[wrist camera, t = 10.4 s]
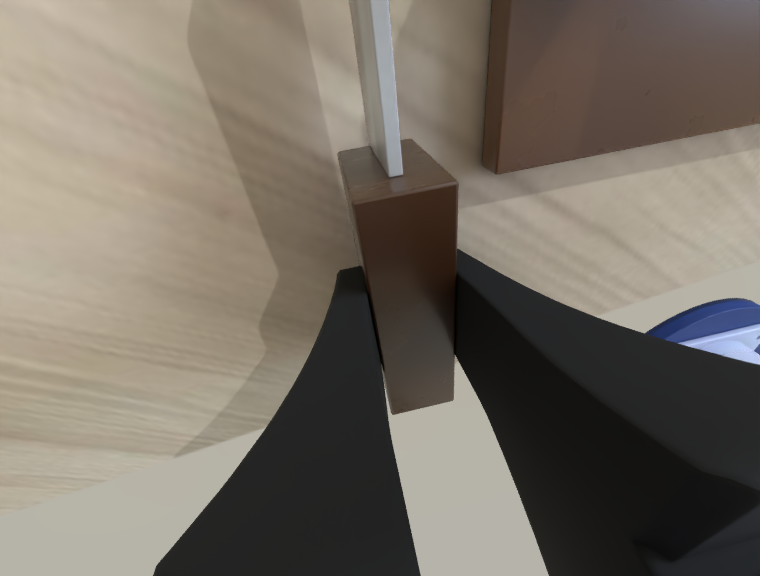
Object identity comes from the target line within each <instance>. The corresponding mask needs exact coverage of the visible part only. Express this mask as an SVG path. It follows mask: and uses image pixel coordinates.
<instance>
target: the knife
mask: <svg viewBox="0 0 760 576" xmlns="http://www.w3.org/2000/svg"><path fill="white" fill-rule="evenodd" d="M349 5H350V12H351V19H352V26H353V33H354V40H355V48H356V55H357V62H358V69H359V76H360V83H361V90H362V98H363V105H364V112H365V119H366V126H367V133H368V141H369V145H370V146H367V147H362V148H356V149H351V150H345V151H340V152H338V160H339V165H340V170H341V175H342V180H343V185H344V190H345V195H346V200H347V205H348V210H349V215H350V220H351V225H352V230H353V235H354V240H355V245H356V250H357V255H358V260H359V265H360V266H361V268H362V272H363V276H364V279H365V283H366V287H367V293H368V298H369V303H370V308H371V313H372V318H373V323H374V328H375V334H376V339H377V344H378V349H379V354H380V359H381V365H382V373H383V379H384V384H385V388H386V392H387V397H388V401H389V405H390V410H391V413H392V415H395V414H399V413H403V412H407V411H412V410H415V409H420V408H424V407H428V406H432V405H437V404H441V403H445V402H449V401H453V399H454V360H455V314H456V268H457V223H458V182H457V180H456V179H455V178H453V177H452V176H451V175H450V174H449V173H448V172H447V171H446V170H445V169H444V168H443V167H442V166H440V165H439V164H438V163H437V162H436V161H435V160H434V159H433V158H432V157H431V156H430V155H429V154H428V153H426V152H425V151H424V150H423V149H422V148H421V147H420V146H419V145H418V144H417V143H416V142H415V141H414V140H412V139H405V140H400V131H399V119H398V107H397V95H396V83H395V71H394V59H393V47H392V34H391V22H390V10H389V0H349Z"/></svg>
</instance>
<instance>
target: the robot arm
mask: <svg viewBox="0 0 760 576" xmlns="http://www.w3.org/2000/svg"><path fill="white" fill-rule="evenodd" d="M759 344H760V324H755V325H751V326H747V327H743V328H738V329H734V330H730V331H726V332H722V333H717V334H713V335H709V336H705V337H701V338H696V339H692V340H688V341H684V342H680V343H674V342H670V341H667V340H663V339H660V338H657V337H654V336H650V335H647V334H644V333H641V332H638V331H635V330H632V329H629V328H625V327H622V326H619V325H617V324H614V323H611V322H608V321H605V320H602V319H600V318H597V317H594V316H592V315H589V314H587V313H584V312H582V311H579V310H577V309H574V308H572V307H569V306H567V305H564V304H562V303H560V302H557V301H555V300H553V299H551V298H549V297H546V296H544V295H542V294H540V293H538V292H536V291H534V290H532V289H530V288H528V287H526V286H524V285H522V284H520V283H518V282H516V281H514V280H512V279H510V278H508V277H506V276H505V275H503V274H501V273H499V272H497V271H496V270H494V269H492V268H490V267H489V266H487V265H485V264H483V263H482V262H480V261H478V260H476V259H475V258H473V257H471V256H470V255H468V254H466V253H464V252H463V251H461V250H459V249H457V268H456V314H455V355H456V357H457V359H458V361H459V363H460V364H461V366H462V368H463V370H464V372H465V374H466V376H467V378H468V379H469V381H470V383H471V385H472V387H473V389H474V391H475V392H476V394H477V396H478V398H479V400H480V402H481V404H482V406H483V408H484V410H485V412H486V414H487V416H488V419H489V421H490V423H491V426H492V428H493V431H494V433H495V435H496V438H497V440H498V443H499V445H500V447H501V450H502V452H503V455H504V457H505V460H506V462H507V465H508V467H509V470H510V472H511V475H512V477H513V480H514V483H515V485H516V488H517V490H518V493H519V495H520V498H521V501H522V503H523V506H524V509H525V511H526V514H527V517H528V519H529V522H530V525H531V527H532V530H533V532H534V535H535V538H536V540H537V543H538V546H539V549H540V552H541V555H542V557H543V560H544V563H545V566H546V569H547V571H548V574H549V576H760V355H759V354H757V353H756V352H754V350H755V349H756V348H757V346H758V345H759ZM153 576H421V575H420V571H419V566H418V562H417V557H416V552H415V548H414V543H413V538H412V533H411V529H410V524H409V519H408V515H407V510H406V505H405V501H404V497H403V491H402V487H401V482H400V477H399V472H398V468H397V463H396V459H395V454H394V449H393V445H392V440H391V434H390V428H389V421H388V414H387V405H386V397H385V389H384V381H383V373H382V365H381V359H380V354H379V349H378V344H377V339H376V334H375V328H374V323H373V318H372V313H371V308H370V303H369V298H368V293H367V287H366V283H365V279H364V276H363V272H362V268H361V266H358V267H353V268H348V269H343V270H340V271H339V272H338V274H337V279H336V285H335V289H334V293H333V296H332V300H331V303H330V306H329V309H328V311H327V314H326V317H325V320H324V323H323V325H322V328H321V330H320V332H319V335H318V337H317V339H316V341H315V344H314V346H313V348H312V350H311V353H310V355H309V357H308V359H307V361H306V363H305V365H304V366H303V368H302V370H301V372H300V374H299V376H298V377H297V379H296V381H295V383H294V385H293V386H292V388H291V390H290V391H289V393H288V395H287V396H286V398H285V399H284V401H283V403H282V404H281V406H280V407H279V409H278V411H277V412H276V414H275V415H274V417H273V418H272V420H271V421H270V423H269V424H268V426H267V427H266V429H265V430H264V432H263V433H262V435H261V436H260V437H259V439H258V440H257V441H256V443H255V444H254V445H253V447H252V448H251V450H250V451H249V452H248V454H247V455H246V456H245V458H244V459H243V460H242V462H241V463H240V465H239V466H238V467H237V469H236V470H235V471H234V473H233V474H232V475H231V477H230V478H229V479H228V481H227V482H226V483H225V484H224V486H223V487H222V488H221V489H220V491H219V492H218V493H217V494H216V496H215V497H214V498H213V499H212V500H211V501H210V503H209V504H208V505H207V506H206V507H205V509H204V510H203V511H202V512H201V513H200V515H199V516H198V517H197V518H196V519H195V521H194V522H193V523H192V524H191V525H190V527H189V528H188V529H187V530H186V531H185V533H184V534H183V535H182V536H181V537H180V539H179V540H178V541H177V542H176V543H175V545H174V546H173V547H172V548H171V549H170V551H169V552H168V553H167V554H166V555H165V556H164V558H163V559H162V560H161V561H160V562H159V563H158V565H157V566H156V569H155V572H154V575H153Z"/></svg>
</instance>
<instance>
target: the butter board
mask: <svg viewBox="0 0 760 576" xmlns="http://www.w3.org/2000/svg"><path fill="white" fill-rule="evenodd" d="M758 123H760V0H492V15H491V31H490V48H489V65H488V81H487V98H486V115H485V131H484V148H483V166H484V167H485V168H487V169H488V170H490V171H491V172H493V173H494V174H496V175H497V174H502V173H507V172H512V171H518V170H523V169H528V168H533V167H538V166H543V165H548V164H553V163H558V162H564V161H569V160H574V159H579V158H584V157H589V156H594V155H599V154H604V153H610V152H615V151H620V150H625V149H630V148H635V147H640V146H645V145H650V144H655V143H661V142H666V141H671V140H676V139H681V138H686V137H691V136H696V135H701V134H707V133H712V132H717V131H722V130H727V129H732V128H737V127H742V126H747V125H753V124H758Z"/></svg>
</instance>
